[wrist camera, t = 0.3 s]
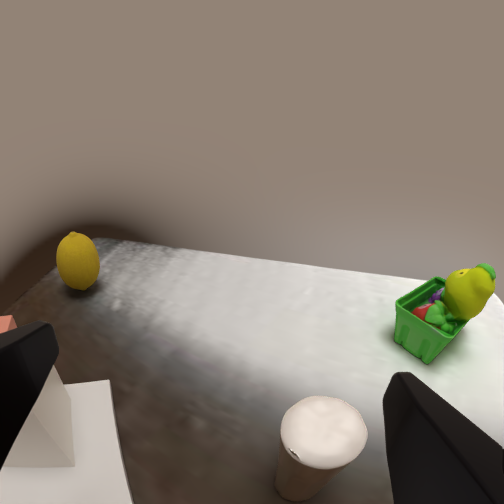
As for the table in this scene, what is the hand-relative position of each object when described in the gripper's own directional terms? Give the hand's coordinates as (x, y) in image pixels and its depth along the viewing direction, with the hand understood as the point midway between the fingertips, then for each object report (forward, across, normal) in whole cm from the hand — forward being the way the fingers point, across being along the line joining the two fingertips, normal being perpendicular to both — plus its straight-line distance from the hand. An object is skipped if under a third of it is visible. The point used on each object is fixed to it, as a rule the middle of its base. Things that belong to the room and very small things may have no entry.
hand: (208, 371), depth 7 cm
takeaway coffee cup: (+6, -5, +16) cm, 18 cm away
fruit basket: (+23, -21, +14) cm, 34 cm away
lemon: (+25, +22, +14) cm, 36 cm away
